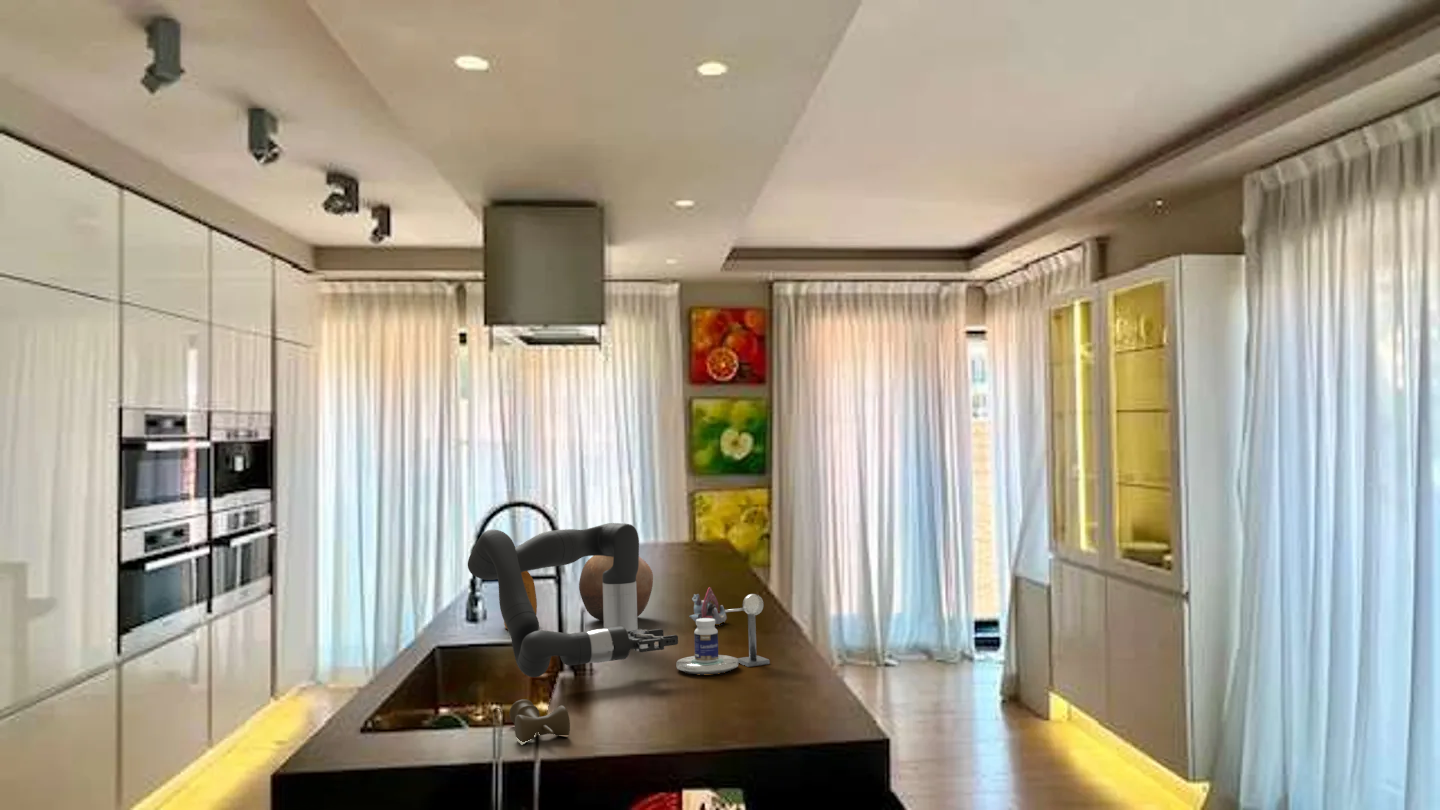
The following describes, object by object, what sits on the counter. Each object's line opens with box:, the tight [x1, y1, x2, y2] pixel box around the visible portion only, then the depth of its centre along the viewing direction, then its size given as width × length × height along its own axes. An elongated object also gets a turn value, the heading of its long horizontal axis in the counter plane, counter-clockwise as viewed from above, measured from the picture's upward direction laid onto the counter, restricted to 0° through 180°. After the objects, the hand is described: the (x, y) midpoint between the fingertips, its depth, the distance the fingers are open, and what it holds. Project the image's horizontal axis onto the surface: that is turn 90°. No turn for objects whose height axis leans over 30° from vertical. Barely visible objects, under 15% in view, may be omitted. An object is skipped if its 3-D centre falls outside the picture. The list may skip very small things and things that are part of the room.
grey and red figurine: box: [688, 586, 728, 624], centre depth 301 cm, size 11×11×12 cm
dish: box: [675, 654, 739, 675], centre depth 240 cm, size 15×15×2 cm
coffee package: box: [503, 571, 538, 630], centre depth 305 cm, size 10×12×22 cm
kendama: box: [509, 699, 571, 742], centre depth 190 cm, size 6×10×20 cm
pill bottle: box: [693, 618, 719, 663], centre depth 240 cm, size 6×6×10 cm
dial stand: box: [724, 593, 771, 668], centre depth 245 cm, size 6×10×17 cm, turn 117°
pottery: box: [578, 556, 654, 622], centre depth 310 cm, size 23×23×25 cm
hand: (670, 636), depth 236 cm, fingers open, 8 cm apart
